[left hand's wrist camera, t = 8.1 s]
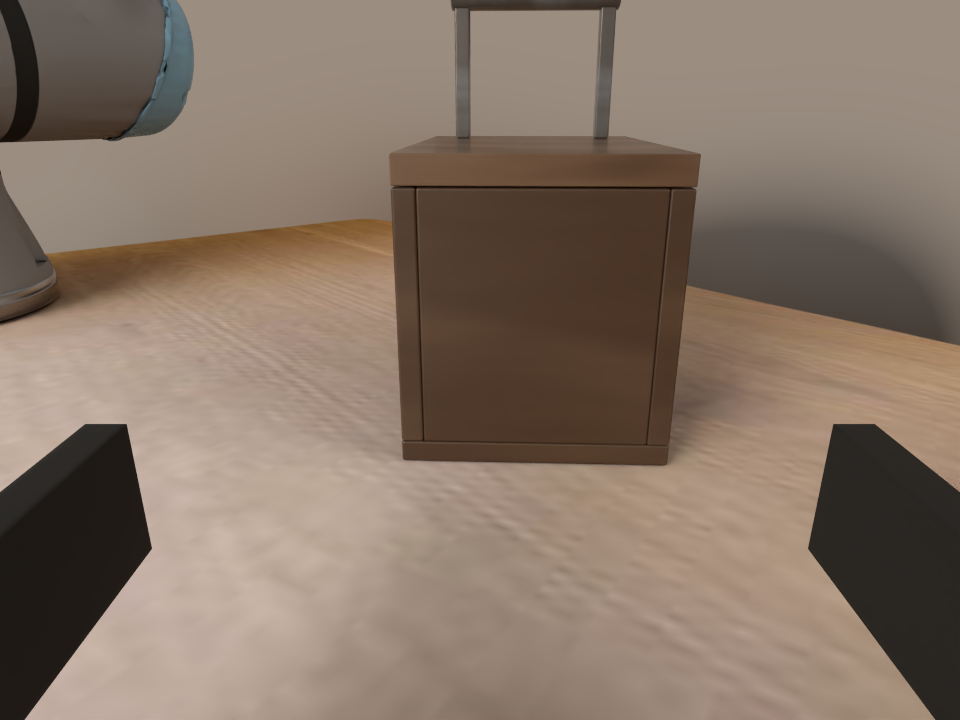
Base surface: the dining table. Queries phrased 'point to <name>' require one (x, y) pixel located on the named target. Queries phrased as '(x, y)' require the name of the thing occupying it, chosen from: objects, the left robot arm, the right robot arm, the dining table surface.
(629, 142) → the lid
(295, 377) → the dining table surface
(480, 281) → the chest
